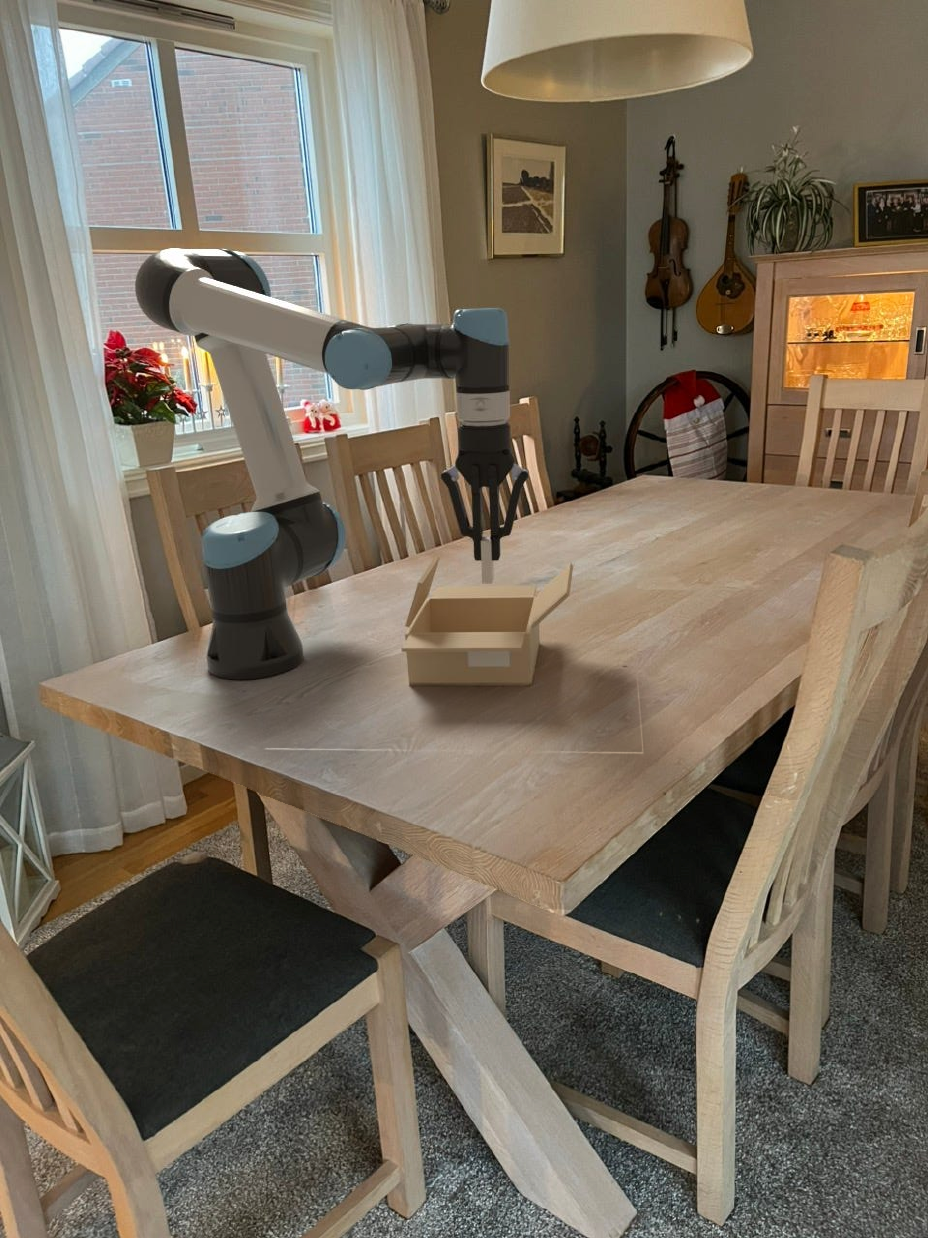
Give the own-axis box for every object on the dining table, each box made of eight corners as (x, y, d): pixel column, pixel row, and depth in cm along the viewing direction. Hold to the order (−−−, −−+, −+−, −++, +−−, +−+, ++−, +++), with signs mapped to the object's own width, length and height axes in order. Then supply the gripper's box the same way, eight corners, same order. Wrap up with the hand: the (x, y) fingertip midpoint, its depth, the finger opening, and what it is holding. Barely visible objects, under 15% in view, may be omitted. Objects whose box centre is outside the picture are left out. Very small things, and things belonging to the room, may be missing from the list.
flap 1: (405, 626, 141) (418, 582, 138) (424, 594, 156) (436, 554, 153) (409, 627, 141) (422, 583, 138) (428, 595, 156) (440, 555, 153)
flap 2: (531, 625, 138) (566, 592, 136) (538, 592, 153) (570, 562, 151) (534, 628, 138) (569, 595, 136) (541, 595, 153) (573, 565, 151)
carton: (400, 701, 137) (396, 648, 134) (436, 632, 165) (433, 587, 162) (528, 702, 134) (526, 647, 132) (542, 631, 162) (540, 585, 160)
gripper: (434, 426, 135) (441, 588, 143) (527, 424, 133) (529, 588, 141) (442, 419, 142) (448, 573, 150) (531, 417, 141) (532, 574, 148)
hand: (487, 580), depth 145 cm, fingers closed
